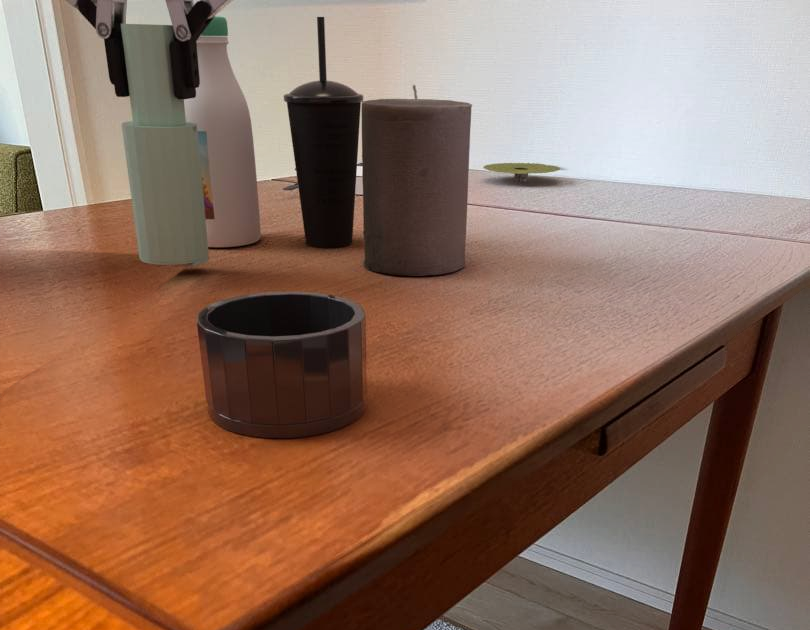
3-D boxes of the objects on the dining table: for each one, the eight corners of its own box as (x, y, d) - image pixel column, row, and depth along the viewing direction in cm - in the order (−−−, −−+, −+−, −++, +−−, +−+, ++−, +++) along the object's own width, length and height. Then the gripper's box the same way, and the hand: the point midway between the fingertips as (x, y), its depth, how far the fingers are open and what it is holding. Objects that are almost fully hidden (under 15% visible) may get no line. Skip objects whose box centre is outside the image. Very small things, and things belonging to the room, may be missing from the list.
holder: (185, 433, 46) (171, 334, 43) (236, 375, 54) (227, 288, 51) (350, 443, 45) (347, 343, 42) (378, 382, 53) (377, 294, 50)
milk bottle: (254, 231, 92) (236, 17, 82) (267, 246, 86) (249, 15, 75) (183, 236, 90) (155, 16, 79) (190, 251, 84) (161, 15, 73)
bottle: (128, 266, 73) (94, 22, 63) (155, 251, 78) (128, 24, 69) (195, 270, 72) (171, 25, 63) (218, 255, 77) (198, 26, 68)
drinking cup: (348, 253, 83) (341, 16, 73) (279, 247, 85) (263, 15, 75) (377, 238, 89) (374, 17, 79) (312, 233, 92) (301, 17, 81)
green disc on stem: (538, 189, 118) (540, 174, 117) (468, 182, 123) (469, 168, 122) (571, 180, 126) (572, 165, 125) (504, 173, 131) (505, 160, 130)
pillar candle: (346, 271, 77) (341, 86, 69) (387, 249, 85) (386, 80, 77) (446, 281, 74) (452, 89, 66) (479, 258, 82) (488, 83, 74)
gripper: (255, -184, 61) (269, 98, 71) (37, -185, 63) (79, 91, 72) (222, -210, 55) (243, 104, 64) (-19, -210, 57) (35, 95, 66)
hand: (156, 94), depth 68 cm, fingers closed on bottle, 4 cm apart
